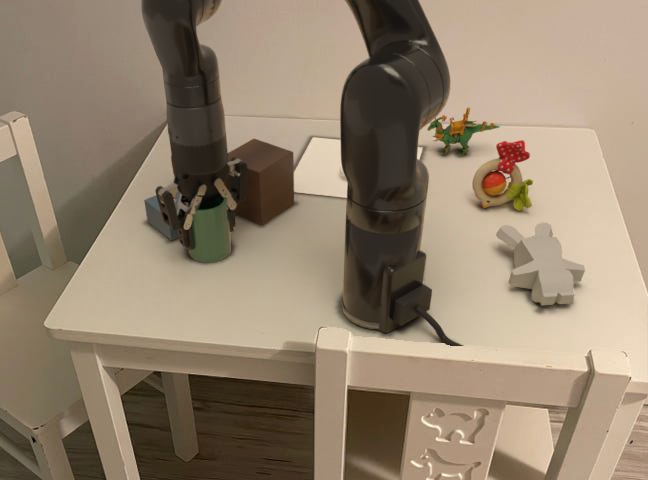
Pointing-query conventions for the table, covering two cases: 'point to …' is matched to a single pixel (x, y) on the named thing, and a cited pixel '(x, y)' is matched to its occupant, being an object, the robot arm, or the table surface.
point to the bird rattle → (503, 177)
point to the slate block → (159, 217)
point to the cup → (211, 231)
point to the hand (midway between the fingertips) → (208, 238)
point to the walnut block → (265, 180)
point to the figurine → (458, 131)
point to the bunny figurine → (541, 265)
